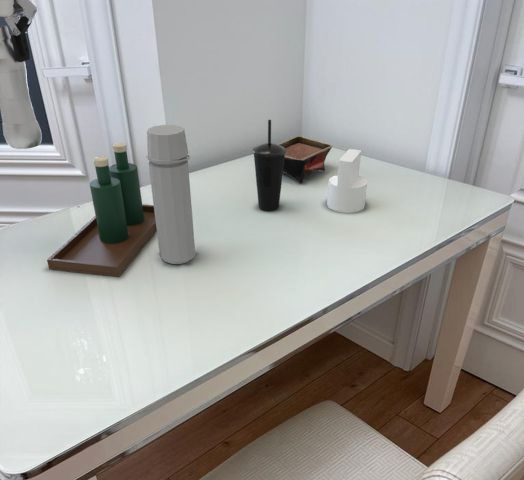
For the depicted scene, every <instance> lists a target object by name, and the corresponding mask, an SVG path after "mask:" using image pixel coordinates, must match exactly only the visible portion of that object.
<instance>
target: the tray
mask: <svg viewBox="0 0 524 480" xmlns="http://www.w3.org/2000/svg"><path fill="white" fill-rule="evenodd" d="M142 206H143V213H144V221H143V222H142V223H140V224H137V225H132V226H127V228H128V234H129V237H128V239H126V240H125V241H123V242H120V243H104V242H102V241H101V240H100V236H99V230H98V225H97V220H96V215H94V216H93V217H92V218H91V219H90V220H89V221H87V222H86V223H85V224H84V225H83V226H82V227H80V229H79V230H78V231H77V232H75V233H74V235H72V236H71V237H70V238H69V239H68V240H67V241H65V243H64V244H62V245H61V246H60V247H59V248H58V249H57V250H56V251H55V252H54V253H52V254H51V255H50V256H49V257H47V259H46V263H47V266H48V270H52V271H60V272H68V273H69V272H71V273H79V274H88V275H97V276H106V277H117V278H119V277H120V276H121V275H122V274H123V272H124V271H125V270H126V269H127V268H128V266H129V265H130V264H131V263H132V262H133V261H134V259H135V258H136V257H137V256H138V254H139V253H140V252H141V251H142V250H143V248H145V246H146V245H147V243H148V242H149V241H150V240H151V239H152V238H153V237H154V235H155V234H157V228H156V220H155V212H154V204H144V203H142Z"/></svg>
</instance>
